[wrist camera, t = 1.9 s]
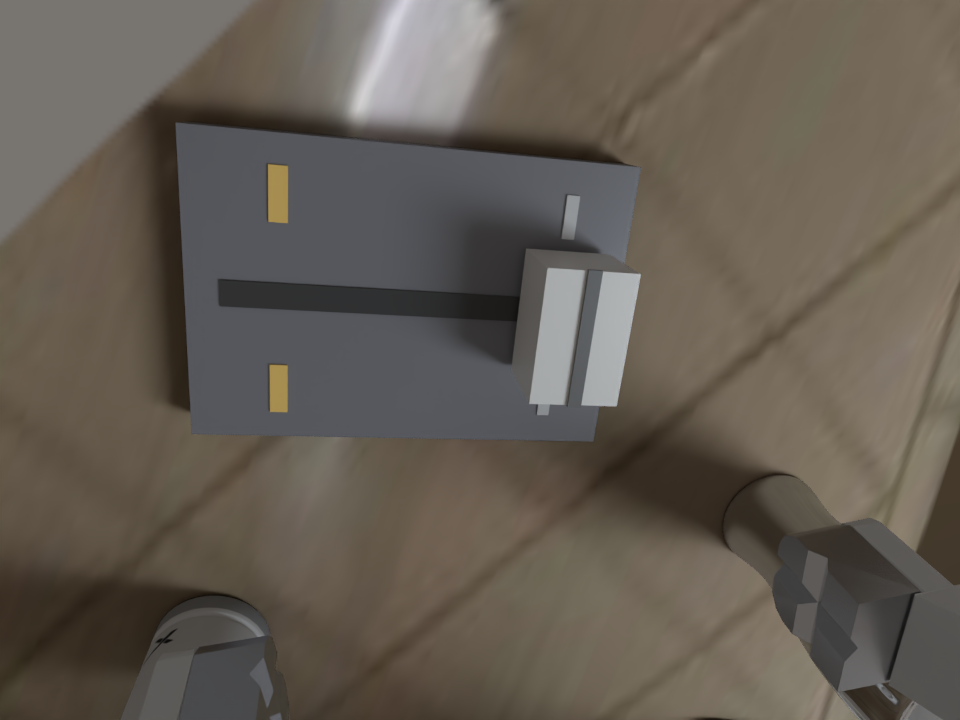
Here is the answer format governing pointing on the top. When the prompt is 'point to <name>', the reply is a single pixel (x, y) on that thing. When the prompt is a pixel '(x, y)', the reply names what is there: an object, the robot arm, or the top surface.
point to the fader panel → (375, 281)
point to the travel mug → (195, 635)
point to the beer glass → (756, 538)
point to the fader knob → (573, 327)
